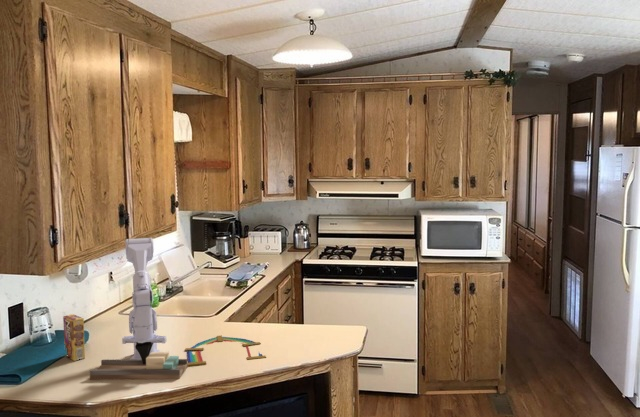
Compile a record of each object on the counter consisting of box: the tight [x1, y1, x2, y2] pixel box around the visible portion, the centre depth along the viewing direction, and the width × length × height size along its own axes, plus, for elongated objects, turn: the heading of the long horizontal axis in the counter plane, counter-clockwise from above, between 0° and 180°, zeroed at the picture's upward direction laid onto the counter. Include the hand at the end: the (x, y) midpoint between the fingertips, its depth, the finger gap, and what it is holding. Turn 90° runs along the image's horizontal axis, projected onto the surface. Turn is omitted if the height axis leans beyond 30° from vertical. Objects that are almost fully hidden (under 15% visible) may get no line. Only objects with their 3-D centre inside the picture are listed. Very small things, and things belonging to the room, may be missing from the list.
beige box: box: [146, 351, 170, 369], centre depth 184 cm, size 6×6×4 cm
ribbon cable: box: [184, 335, 267, 367], centre depth 207 cm, size 29×1×30 cm
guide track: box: [89, 355, 188, 380], centre depth 184 cm, size 10×30×4 cm, turn 89°
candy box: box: [62, 313, 86, 362], centre depth 200 cm, size 9×4×15 cm, turn 47°
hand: (145, 363), depth 184 cm, fingers closed
